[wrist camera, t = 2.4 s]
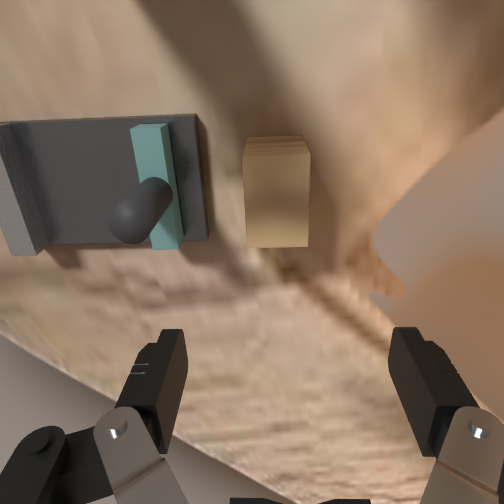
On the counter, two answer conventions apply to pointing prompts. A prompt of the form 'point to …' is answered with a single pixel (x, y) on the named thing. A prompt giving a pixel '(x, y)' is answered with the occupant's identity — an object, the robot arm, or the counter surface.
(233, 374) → the counter surface
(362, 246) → the counter surface
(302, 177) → the block
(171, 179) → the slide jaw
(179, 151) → the vise
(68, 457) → the robot arm
